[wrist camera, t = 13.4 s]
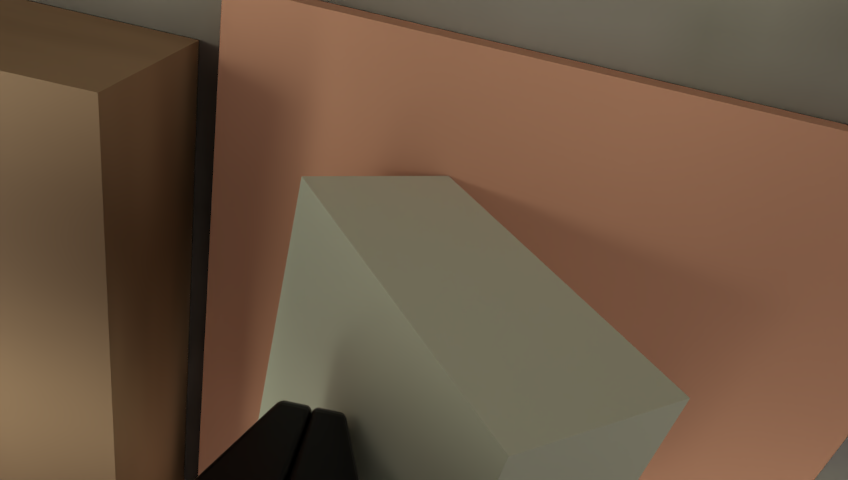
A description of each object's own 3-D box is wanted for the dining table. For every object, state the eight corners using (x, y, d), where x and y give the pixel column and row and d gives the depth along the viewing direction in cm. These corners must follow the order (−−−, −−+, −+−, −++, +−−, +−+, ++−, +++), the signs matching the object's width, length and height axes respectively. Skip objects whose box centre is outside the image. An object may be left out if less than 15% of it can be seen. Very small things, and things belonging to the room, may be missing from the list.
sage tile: (250, 464, 12) (369, 433, 13) (361, 766, 8) (509, 682, 9) (301, 176, 9) (448, 175, 10) (508, 456, 5) (690, 398, 7)
